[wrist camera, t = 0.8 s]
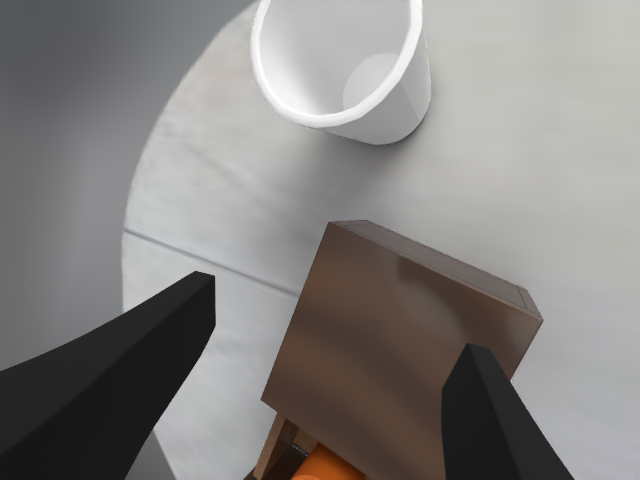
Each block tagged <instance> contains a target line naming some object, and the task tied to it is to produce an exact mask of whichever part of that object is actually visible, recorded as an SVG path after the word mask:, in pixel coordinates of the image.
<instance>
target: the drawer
mask: <svg viewBox="0 0 640 480" xmlns="http://www.w3.org/2000/svg"><path fill="white" fill-rule="evenodd" d="M318 442H319V441H318V440H316V439H315V438H313V437H312V436H311V435H309V434H308V433H306V432H305V431H304V430H302V429H301V428H299V427H298V426H297V425H295V424H294V423H292V422H291V421H290V420H288V419H287V418H285V417H284V416H283V415H281V414H280V413H277V415H276V418H275V420H274V423H273V425H272V428H271V430H270V433H269V435H268V438H267V440H266V443H265V445H264V448H263V450H262V453H261V455H260V458H259V460H258V463H257V465H256V466H255V467H254V468H253V470H252V471H251V472H250V473H249V474H248V475H247V476H246V477H245V478H244V479H243V480H291V478H292V477H293V476H294V474H295V473H296V472H297V470H298V469H299V468H300V466H301V465H302V463H303V462H304V461H305V459H306V458H307V457H306V456H305V455H303V454H302V453H301V452H299V451H298V450H297V449H295V448H294V447H293V446H291V444H292V443H294V444H296V445H297V446H299V447H300V448H301V449H303V450H304V451H305V452H307V453H308V454H310V453H311V451H312V450H313V449H314V447H315V446H316V444H317V443H318ZM364 480H372V479H371V478H369V477H368V476H367V475H366V477H365V479H364Z"/></svg>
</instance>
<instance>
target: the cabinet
mask: <svg viewBox="0 0 640 480" xmlns="http://www.w3.org/2000/svg"><path fill="white" fill-rule="evenodd" d="M542 323H543V318H542V316H541V314H540V312H539V311H538V309H537V307H536V305H535V303H534V302H533V300H532V298H531V296H530V294H529V293H528V291H527V290H526V289H523V288H521V287H519V286H517V285H514V284H512V283H510V282H507V281H505V280H503V279H501V278H498V277H496V276H494V275H491V274H489V273H487V272H485V271H482V270H480V269H478V268H475V267H473V266H471V265H469V264H466V263H464V262H462V261H459V260H457V259H455V258H453V257H450V256H448V255H446V254H443V253H441V252H439V251H436V250H434V249H432V248H430V247H427V246H425V245H423V244H420V243H418V242H416V241H414V240H411V239H409V238H407V237H404V236H402V235H400V234H398V233H395V232H393V231H391V230H388V229H386V228H384V227H382V226H379V225H377V224H375V223H372V222H370V221H368V220H357V221H333V222H328V225H327V227H326V230H325V233H324V235H323V238H322V240H321V243H320V246H319V248H318V251H317V254H316V256H315V259H314V261H313V264H312V267H311V269H310V272H309V274H308V277H307V280H306V282H305V285H304V287H303V290H302V293H301V295H300V298H299V300H298V303H297V306H296V308H295V311H294V313H293V316H292V319H291V321H290V324H289V327H288V329H287V332H286V334H285V337H284V340H283V342H282V345H281V347H280V350H279V353H278V355H277V358H276V360H275V363H274V366H273V368H272V371H271V373H270V376H269V379H268V381H267V384H266V386H265V389H264V392H263V394H262V397H261V400H262V401H263V402H264V403H266V404H267V405H269V406H270V407H271V408H273V409H274V410H276V411H277V412H278V413H280V414H281V415H283V416H284V417H285V418H287V419H288V420H290V421H291V422H292V423H294V424H295V425H297V426H298V427H299V428H301V429H302V430H304V431H305V432H306V433H308V434H309V435H311V436H312V437H313V438H315V439H316V440H318V441H319V442H320V443H322V444H323V445H325V446H326V447H327V448H329V449H330V450H332V451H333V452H334V453H336V454H337V455H339V456H340V457H341V458H343V459H344V460H346V461H347V462H348V463H350V464H351V465H353V466H354V467H355V468H357V469H358V470H360V471H361V472H362V473H364V474H365V475H367V476H368V477H369V478H371V479H372V480H446V474H445V464H444V454H443V444H442V433H441V398H442V388H443V386H444V384H445V382H446V380H447V378H448V376H449V375H450V373H451V371H452V369H453V367H454V365H455V364H456V362H457V360H458V358H459V356H460V354H461V352H462V351H463V349H464V347H465V345H466V343H471V344H475V345H479V346H483V347H486V348H490V349H491V351H492V352H493V354H494V356H495V357H496V359H497V361H498V362H499V364H500V366H501V367H502V369H503V371H504V372H505V374H506V376H507V377H508V379H509V381H510V380H511V378H512V376H513V375H514V373H515V371H516V369H517V367H518V366H519V364H520V362H521V360H522V358H523V357H524V355H525V353H526V351H527V350H528V348H529V346H530V344H531V342H532V341H533V339H534V337H535V335H536V333H537V332H538V330H539V328H540V326H541V324H542Z"/></svg>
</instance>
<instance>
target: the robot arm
mask: <svg viewBox="0 0 640 480" xmlns="http://www.w3.org/2000/svg"><path fill="white" fill-rule="evenodd" d="M215 326H216V312H215V276H213V275H210V274H206V273H202V272H198V271H194V272H193V273H191V274H189V275H187V276H186V277H184V278H182V279H181V280H179V281H177V282H176V283H174V284H173V285H171V286H169V287H168V288H166V289H164V290H163V291H161V292H159V293H158V294H156V295H155V296H153V297H151V298H150V299H148V300H146V301H144V302H143V303H141V304H139V305H138V306H136V307H134V308H133V309H131V310H129V311H127V312H126V313H124V314H122V315H120V316H119V317H117V318H115V319H113V320H111V321H109V322H108V323H106V324H104V325H102V326H100V327H98V328H96V329H94V330H93V331H91V332H89V333H87V334H85V335H83V336H81V337H79V338H77V339H75V340H73V341H70V342H68V343H66V344H64V345H62V346H60V347H57V348H55V349H53V350H51V351H49V352H46V353H44V354H42V355H40V356H37V357H35V358H33V359H30V360H28V361H25V362H23V363H20V364H18V365H15V366H13V367H10V368H8V369H5V370H2V371H0V480H124V479H125V477H126V476H127V474H128V472H129V470H130V468H131V466H132V464H133V463H134V461H135V459H136V457H137V455H138V453H139V452H140V450H141V448H142V446H143V444H144V442H145V441H146V439H147V438H148V436H149V434H150V433H151V431H152V429H153V428H154V426H155V425H156V423H157V422H158V420H159V419H160V417H161V416H162V414H163V413H164V411H165V410H166V408H167V407H168V405H169V404H170V402H171V401H172V399H173V398H174V396H175V394H176V393H177V391H178V390H179V388H180V387H181V385H182V384H183V382H184V381H185V379H186V378H187V376H188V375H189V373H190V372H191V370H192V369H193V367H194V366H195V364H196V363H197V361H198V359H199V358H200V356H201V354H202V352H203V350H204V349H205V347H206V345H207V343H208V341H209V339H210V337H211V334H212V332H213V330H214V328H215ZM441 433H442V444H443V454H444V464H445V474H446V480H574V478H573V477H572V476H571V474H570V473H569V471H568V470H567V468H566V467H565V466H564V464H563V463H562V461H561V460H560V458H559V457H558V456H557V454H556V453H555V451H554V450H553V448H552V447H551V445H550V444H549V443H548V441H547V440H546V438H545V437H544V435H543V434H542V432H541V430H540V429H539V427H538V426H537V424H536V423H535V421H534V420H533V418H532V416H531V415H530V413H529V412H528V410H527V409H526V407H525V405H524V404H523V402H522V401H521V399H520V397H519V396H518V394H517V392H516V391H515V389H514V387H513V386H512V384H511V382H510V381H509V379H508V377H507V376H506V374H505V372H504V371H503V369H502V367H501V366H500V364H499V362H498V361H497V359H496V357H495V356H494V354H493V352H492V351H491V349H490V348H486V347H483V346H479V345H475V344H471V343H466V345H465V347H464V349H463V351H462V352H461V354H460V356H459V358H458V360H457V362H456V364H455V365H454V367H453V369H452V371H451V373H450V375H449V376H448V378H447V380H446V382H445V384H444V386H443V388H442V398H441Z"/></svg>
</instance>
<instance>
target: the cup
mask: <svg viewBox="0 0 640 480" xmlns="http://www.w3.org/2000/svg"><path fill="white" fill-rule="evenodd" d="M250 54H251V64H252V68H253V73H254V77H255V81H256V84H257V86H258V87H259V89H260V91H261V93H262V95H263V97H264V99H265V101H266V102H267V103H268V104H269V105H270V106H271V107H272V109H273V110H274V111H275V112H276V113H277V114H278V115H279V116H281V117H283V118H285V119H287V120H289V121H291V122H293V123H295V124H298V125H302V126H306V127H309V128H313V129H317V130H320V131H324V132H328V133H331V134H335V135H339V136H343V137H346V138H350V139H354V140H357V141H361V142H365V143H370V144H374V145H384V144H390V143H393V142H397V141H400V140H402V139H403V138H404V137H406V136H407V135H409V134H410V133H411V132H412V131H413V130H414V129H416V128H417V127H418V126H419V125H420V123H421V122H422V120H423V119H424V116H425V114H426V112H427V110H428V107H429V104H430V101H431V79H430V69H429V60H428V51H427V42H426V33H425V24H424V15H423V6H422V0H261V2H260V5H259V7H258V10H257V12H256V15H255V18H254V23H253V27H252V31H251V36H250Z"/></svg>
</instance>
